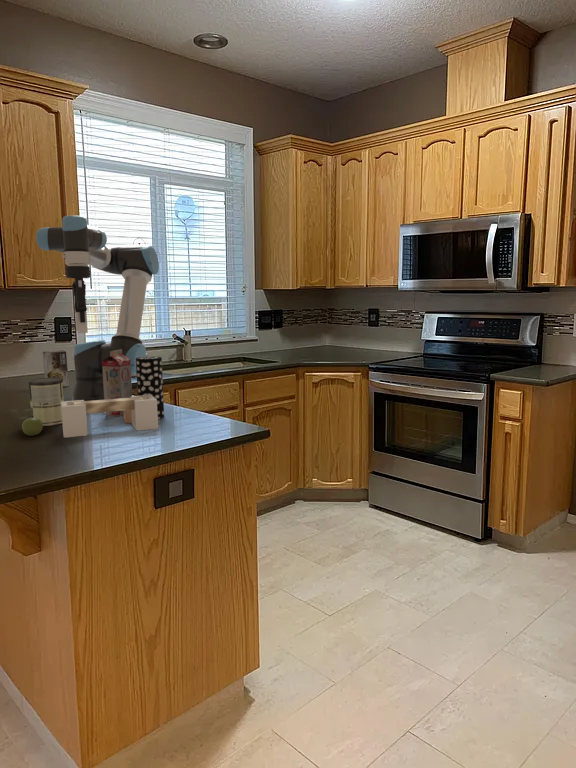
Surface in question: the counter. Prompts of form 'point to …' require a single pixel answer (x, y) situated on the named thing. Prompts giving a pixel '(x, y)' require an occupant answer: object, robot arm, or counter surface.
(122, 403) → the birch slat
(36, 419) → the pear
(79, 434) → the end caps
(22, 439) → the counter surface
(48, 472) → the counter surface
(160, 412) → the spotted tube
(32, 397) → the coffee can
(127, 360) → the juice carton
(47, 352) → the coffee box
